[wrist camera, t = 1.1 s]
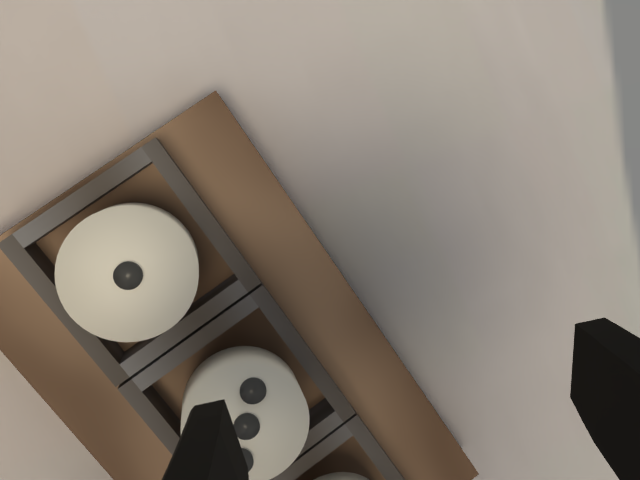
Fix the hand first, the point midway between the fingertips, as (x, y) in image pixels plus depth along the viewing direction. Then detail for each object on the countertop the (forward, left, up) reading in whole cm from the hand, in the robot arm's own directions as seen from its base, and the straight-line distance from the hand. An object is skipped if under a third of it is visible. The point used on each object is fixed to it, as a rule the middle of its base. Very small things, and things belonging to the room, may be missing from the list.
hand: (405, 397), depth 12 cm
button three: (-5, -2, -10) cm, 12 cm away
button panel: (-5, -2, -14) cm, 15 cm away
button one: (-5, +5, -10) cm, 12 cm away
